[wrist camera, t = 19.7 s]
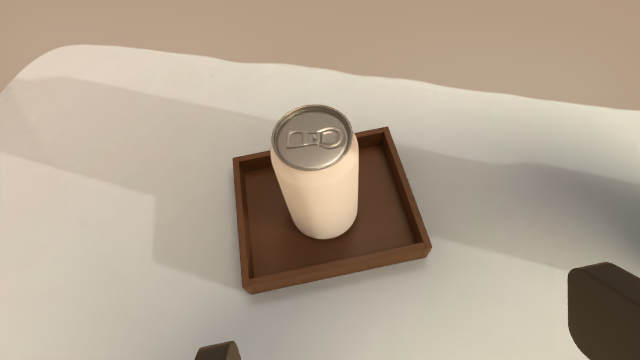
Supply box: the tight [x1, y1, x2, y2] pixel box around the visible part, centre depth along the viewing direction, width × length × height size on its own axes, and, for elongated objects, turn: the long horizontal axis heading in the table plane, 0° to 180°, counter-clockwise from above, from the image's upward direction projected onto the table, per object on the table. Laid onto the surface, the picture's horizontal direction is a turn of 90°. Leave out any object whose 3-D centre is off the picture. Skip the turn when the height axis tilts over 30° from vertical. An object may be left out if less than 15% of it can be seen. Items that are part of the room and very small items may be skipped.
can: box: [271, 105, 359, 239], centre depth 29 cm, size 6×6×12 cm
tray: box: [233, 127, 432, 294], centre depth 34 cm, size 16×13×3 cm
